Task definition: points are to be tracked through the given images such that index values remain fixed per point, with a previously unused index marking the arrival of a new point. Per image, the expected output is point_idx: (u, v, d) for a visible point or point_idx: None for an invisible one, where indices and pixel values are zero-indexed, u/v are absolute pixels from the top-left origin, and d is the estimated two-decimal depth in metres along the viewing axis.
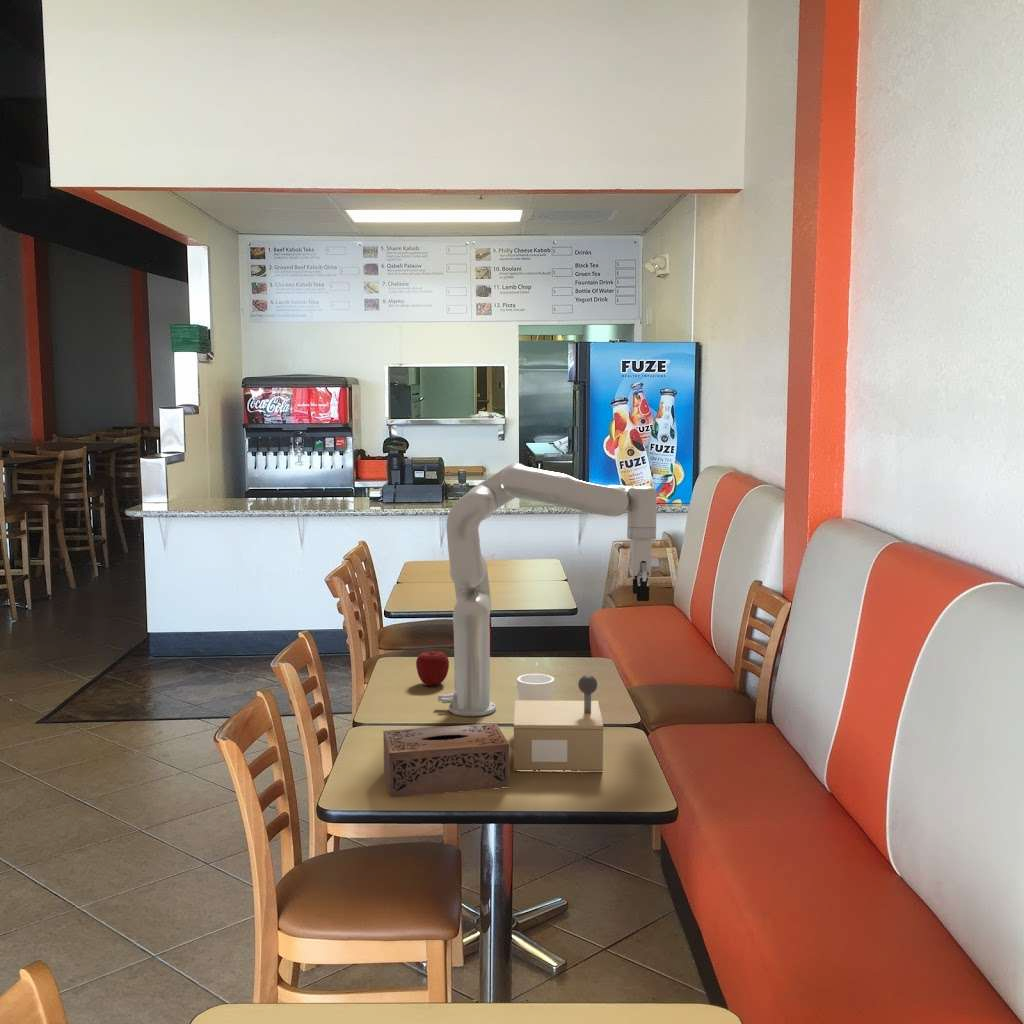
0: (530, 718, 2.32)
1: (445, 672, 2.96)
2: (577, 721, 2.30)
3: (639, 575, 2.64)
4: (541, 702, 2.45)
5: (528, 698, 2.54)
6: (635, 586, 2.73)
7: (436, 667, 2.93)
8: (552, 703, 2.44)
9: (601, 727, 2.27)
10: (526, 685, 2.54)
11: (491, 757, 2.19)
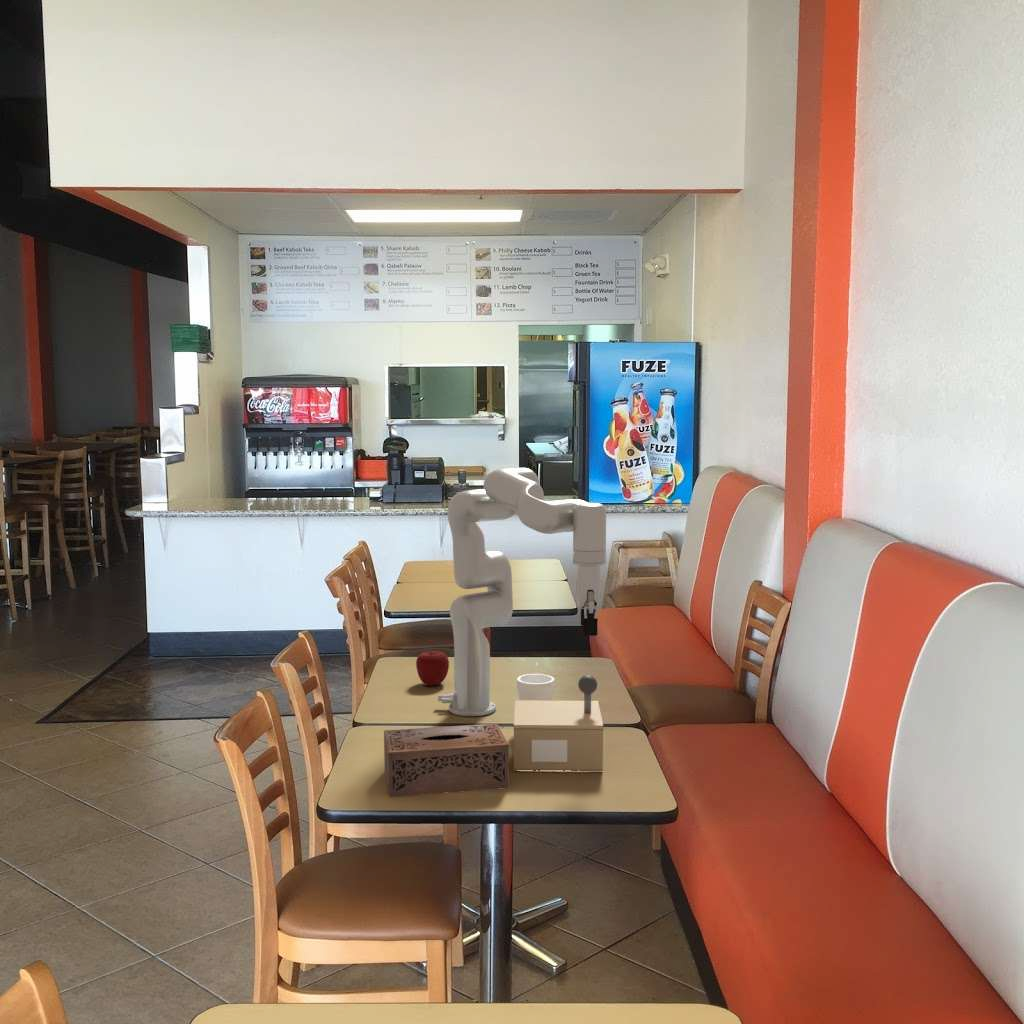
0: (530, 718, 2.32)
1: (445, 672, 2.96)
2: (577, 721, 2.30)
3: (586, 606, 2.29)
4: (541, 702, 2.45)
5: (528, 698, 2.54)
6: (583, 617, 2.39)
7: (436, 667, 2.93)
8: (552, 703, 2.44)
9: (601, 727, 2.27)
10: (526, 685, 2.54)
11: (491, 757, 2.19)
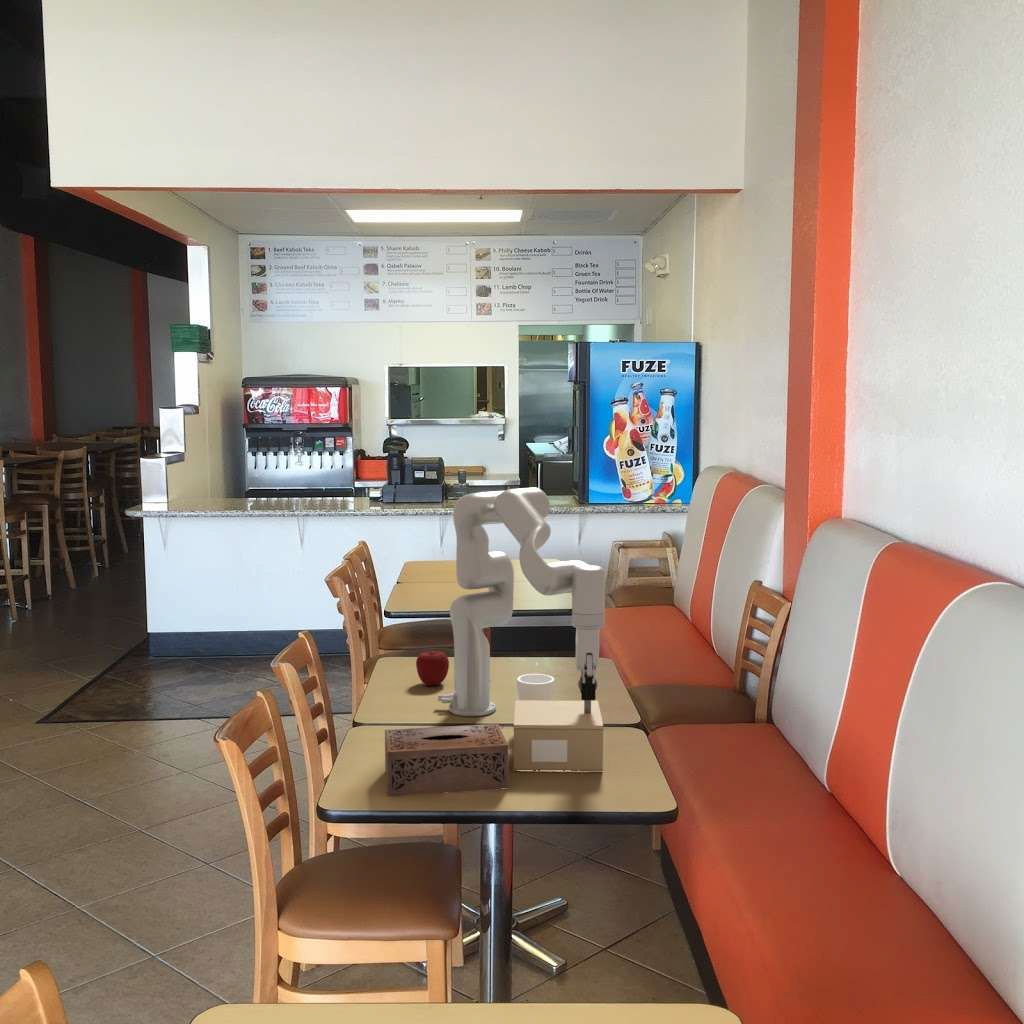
0: (530, 718, 2.32)
1: (445, 672, 2.96)
2: (577, 721, 2.30)
3: (584, 671, 2.32)
4: (541, 702, 2.45)
5: (528, 698, 2.54)
6: None
7: (436, 667, 2.93)
8: (552, 703, 2.44)
9: (601, 727, 2.27)
10: (526, 685, 2.54)
11: (490, 757, 2.18)
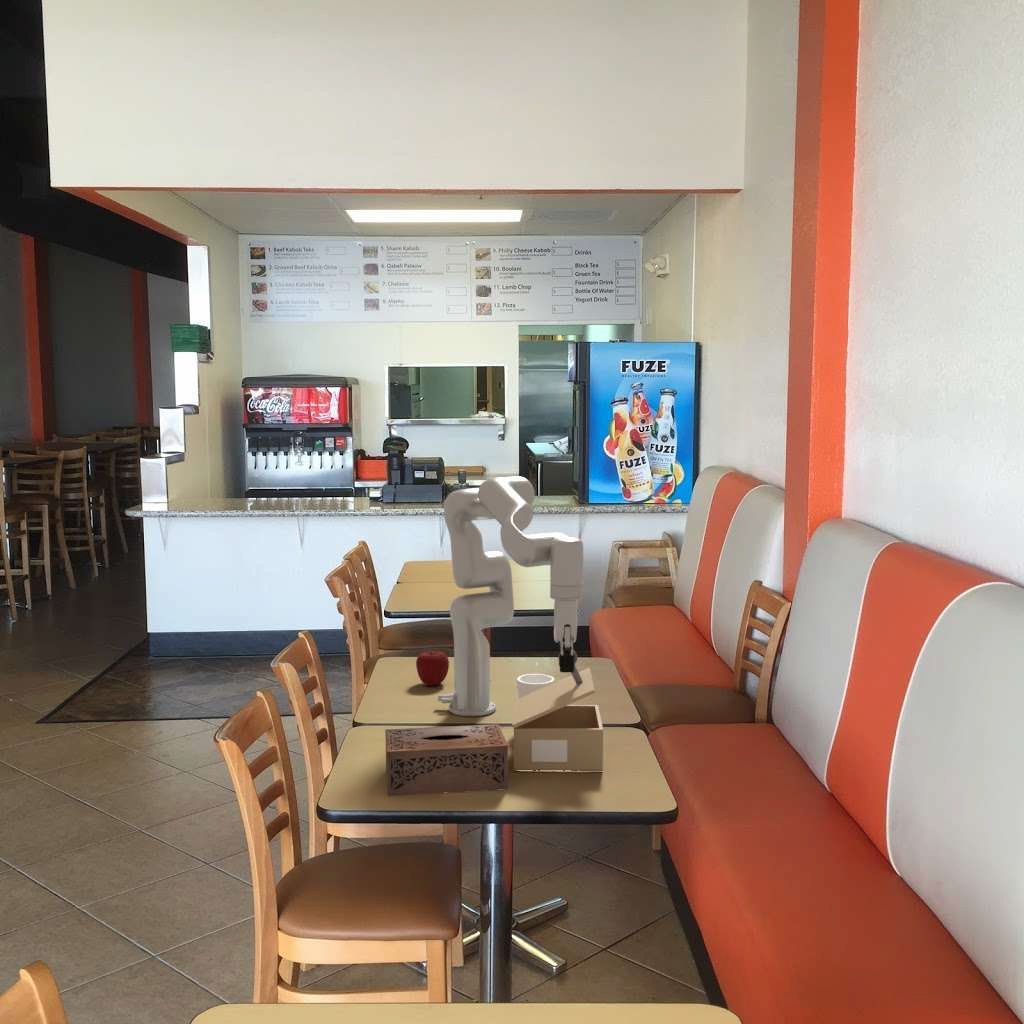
0: (527, 712, 2.32)
1: (445, 672, 2.96)
2: (570, 696, 2.30)
3: (562, 643, 2.31)
4: (538, 691, 2.44)
5: None
6: None
7: (436, 667, 2.93)
8: (547, 688, 2.43)
9: (593, 692, 2.27)
10: (526, 685, 2.54)
11: (490, 758, 2.18)
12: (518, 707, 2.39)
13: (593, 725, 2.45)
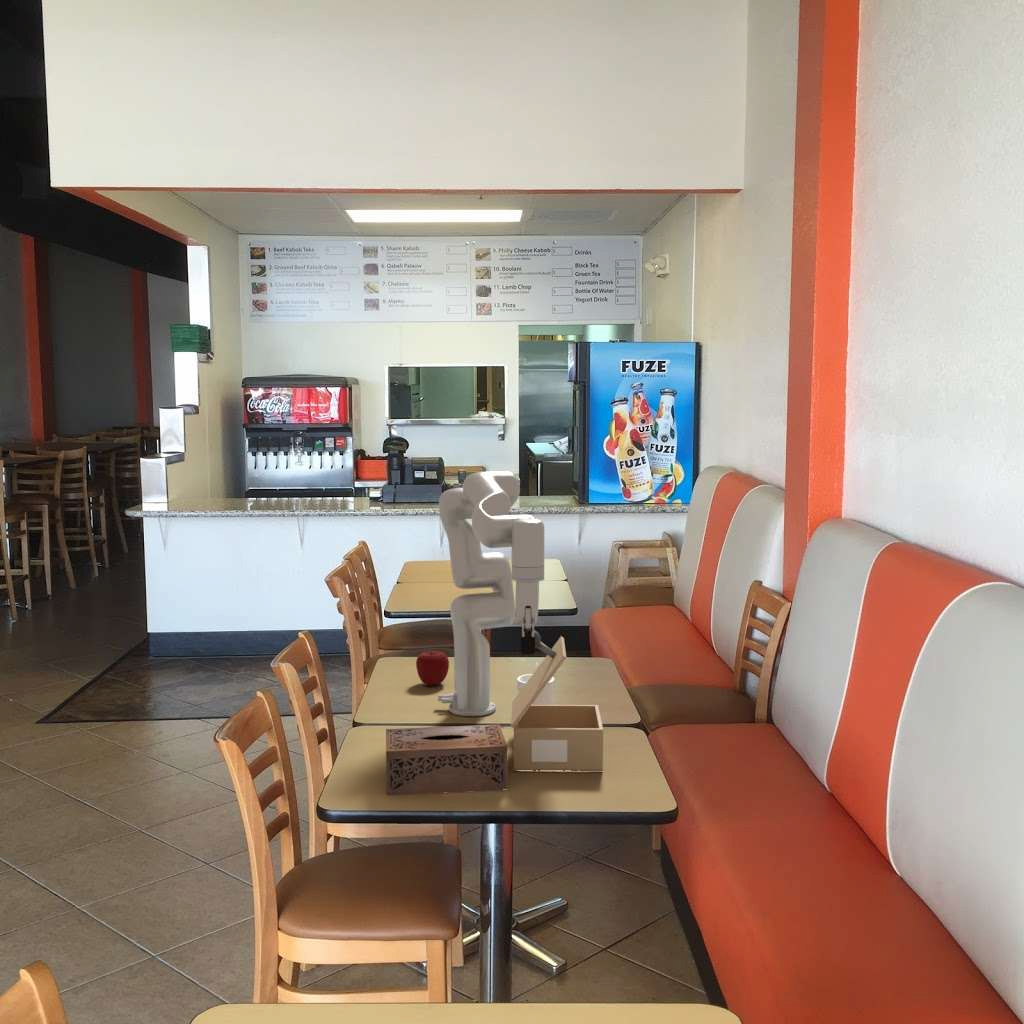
0: (520, 706, 2.32)
1: (445, 672, 2.96)
2: (548, 672, 2.29)
3: (524, 625, 2.31)
4: (528, 682, 2.44)
5: None
6: None
7: (436, 667, 2.93)
8: (534, 675, 2.43)
9: (564, 658, 2.26)
10: None
11: (489, 758, 2.18)
12: (515, 706, 2.39)
13: (593, 725, 2.45)
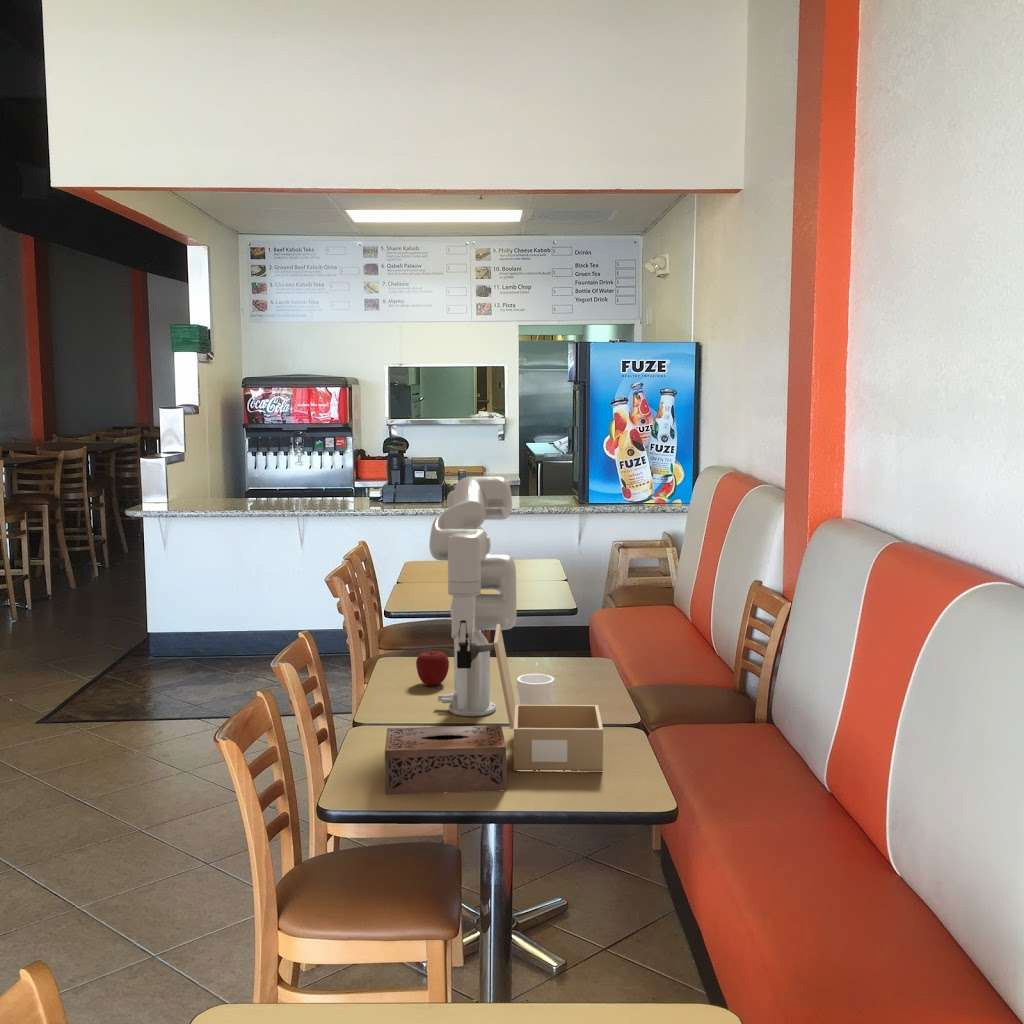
0: None
1: (445, 672, 2.96)
2: None
3: (459, 639, 2.32)
4: None
5: (528, 698, 2.54)
6: None
7: (436, 667, 2.93)
8: None
9: (496, 644, 2.26)
10: (526, 685, 2.54)
11: (488, 759, 2.18)
12: None
13: (593, 725, 2.45)
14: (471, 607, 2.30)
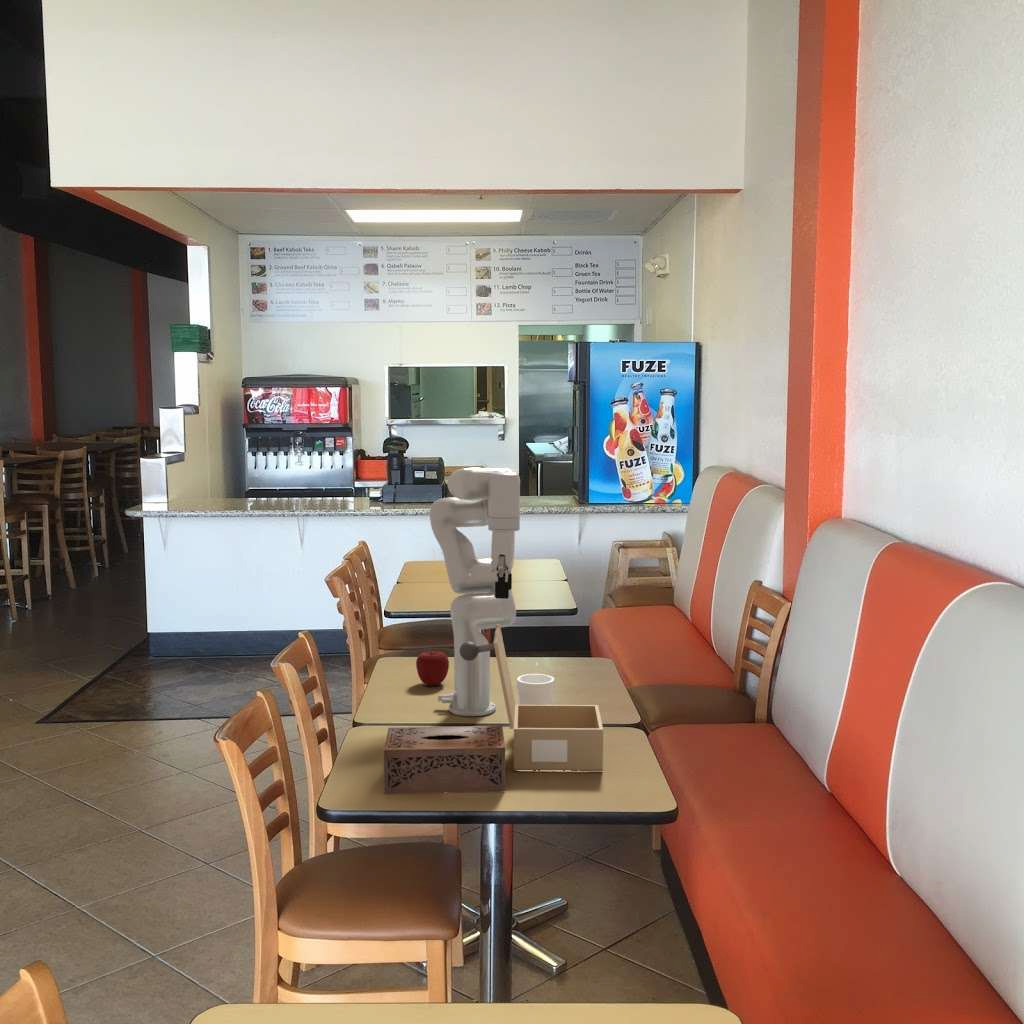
0: None
1: (445, 672, 2.96)
2: None
3: (498, 570, 2.40)
4: None
5: (528, 698, 2.54)
6: None
7: (436, 667, 2.93)
8: None
9: (495, 644, 2.26)
10: (526, 685, 2.54)
11: (487, 759, 2.17)
12: None
13: (593, 725, 2.45)
14: (510, 542, 2.39)
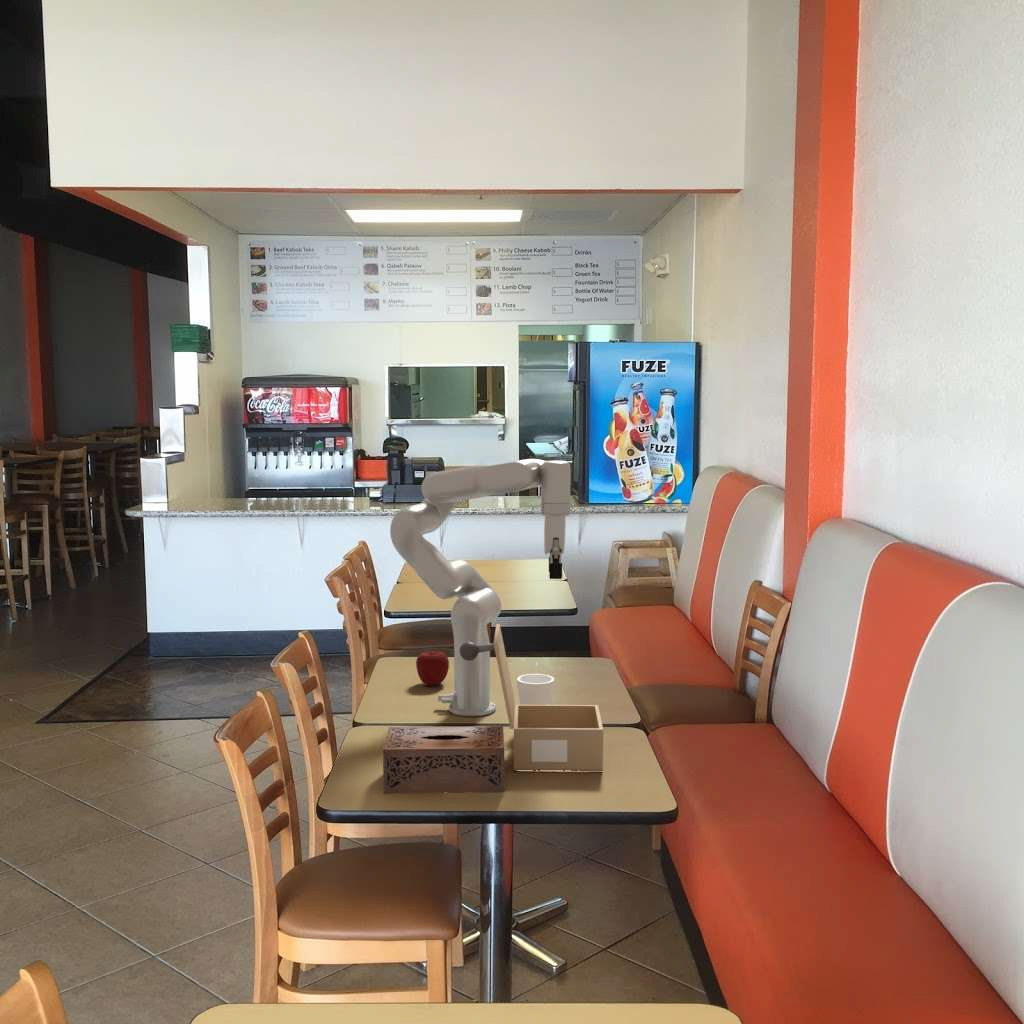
0: None
1: (445, 672, 2.96)
2: None
3: (552, 552, 2.56)
4: None
5: (528, 698, 2.54)
6: None
7: (436, 667, 2.93)
8: None
9: (495, 644, 2.26)
10: (526, 685, 2.54)
11: (486, 759, 2.17)
12: None
13: (593, 725, 2.45)
14: (563, 526, 2.56)
